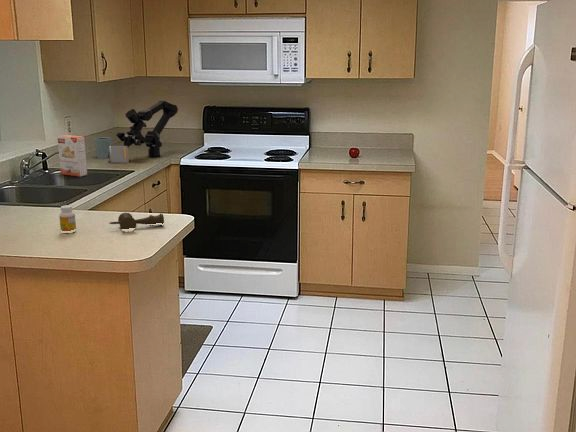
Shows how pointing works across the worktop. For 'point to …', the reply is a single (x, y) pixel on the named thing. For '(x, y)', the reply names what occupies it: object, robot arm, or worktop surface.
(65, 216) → the supplement bottle
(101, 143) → the drinking glass
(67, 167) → the cracker box
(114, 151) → the pale grey square case
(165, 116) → the robot arm
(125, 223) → the kendama
